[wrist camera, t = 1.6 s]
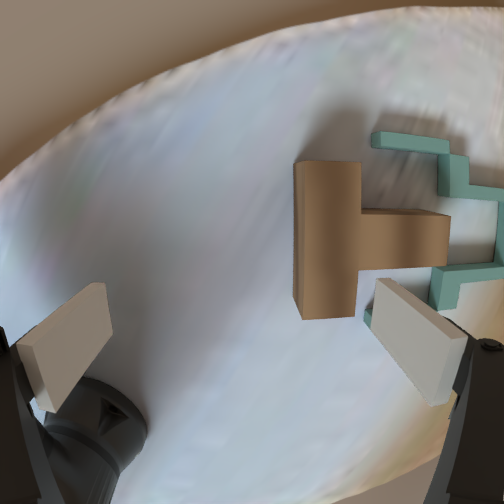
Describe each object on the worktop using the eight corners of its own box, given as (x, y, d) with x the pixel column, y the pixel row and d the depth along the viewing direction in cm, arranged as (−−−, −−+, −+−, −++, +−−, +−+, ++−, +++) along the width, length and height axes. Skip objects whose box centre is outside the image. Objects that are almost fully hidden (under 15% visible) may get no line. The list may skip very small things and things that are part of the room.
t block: (292, 296, 35) (302, 320, 29) (293, 163, 32) (304, 160, 26) (414, 289, 35) (440, 307, 29) (422, 170, 32) (452, 170, 26)
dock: (363, 321, 36) (371, 330, 33) (371, 134, 31) (380, 131, 28) (492, 304, 36) (502, 310, 34) (505, 155, 31) (517, 155, 29)
